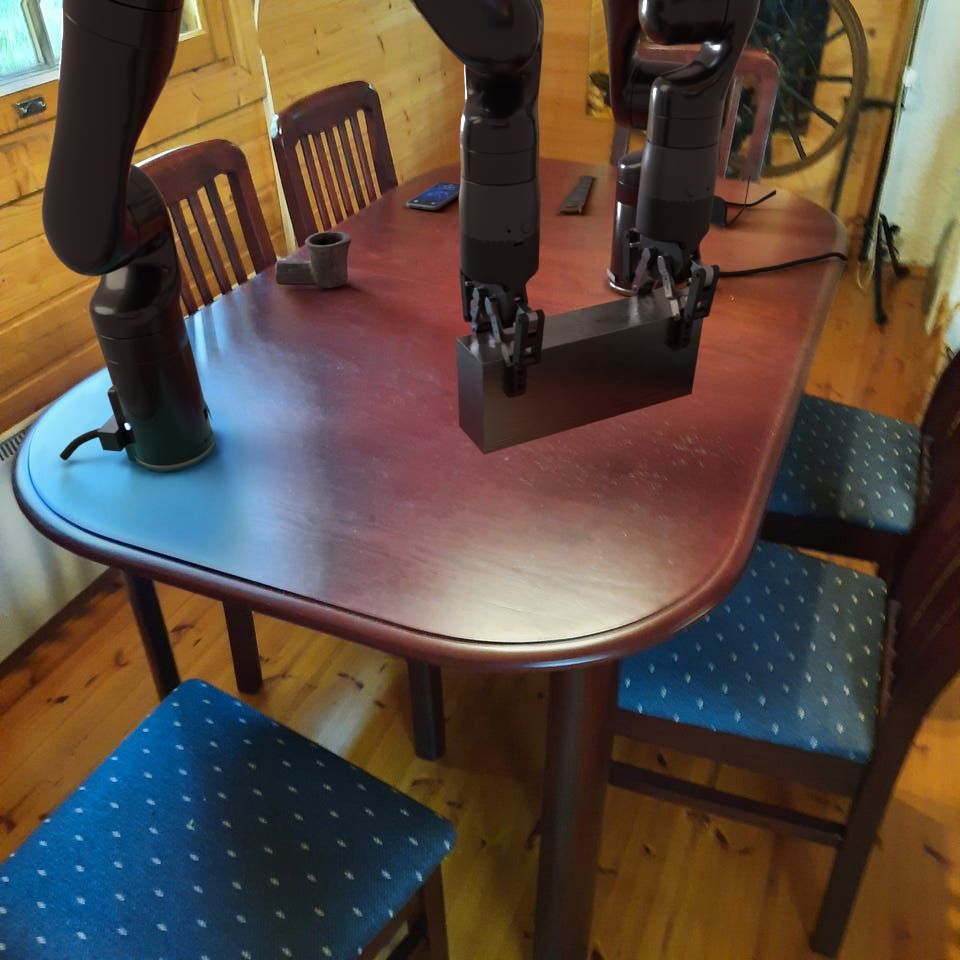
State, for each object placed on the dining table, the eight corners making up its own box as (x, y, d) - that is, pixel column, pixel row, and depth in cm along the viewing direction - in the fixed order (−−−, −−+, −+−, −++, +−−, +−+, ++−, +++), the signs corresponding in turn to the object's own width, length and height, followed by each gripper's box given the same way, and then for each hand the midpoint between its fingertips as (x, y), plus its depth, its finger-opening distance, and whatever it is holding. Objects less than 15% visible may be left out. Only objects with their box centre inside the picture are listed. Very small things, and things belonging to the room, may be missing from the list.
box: (660, 370, 104) (671, 287, 97) (692, 394, 99) (705, 307, 93) (459, 426, 94) (456, 337, 88) (483, 455, 90) (482, 363, 83)
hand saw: (572, 176, 184) (572, 173, 184) (593, 177, 184) (593, 174, 183) (557, 214, 165) (557, 210, 165) (581, 215, 165) (581, 211, 164)
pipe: (280, 280, 143) (272, 233, 138) (357, 276, 144) (351, 229, 139) (276, 295, 138) (268, 248, 133) (355, 291, 139) (350, 243, 134)
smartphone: (403, 203, 170) (439, 180, 181) (404, 207, 171) (440, 185, 181) (436, 207, 167) (471, 184, 178) (436, 212, 168) (471, 189, 179)
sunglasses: (787, 221, 160) (792, 194, 157) (718, 230, 157) (722, 203, 154) (740, 193, 173) (744, 168, 170) (675, 201, 170) (678, 176, 167)
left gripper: (431, 206, 83) (439, 358, 93) (498, 256, 73) (499, 422, 83) (500, 194, 86) (500, 343, 96) (574, 241, 76) (566, 403, 85)
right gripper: (754, 200, 82) (727, 355, 92) (665, 161, 93) (649, 304, 103) (690, 213, 80) (670, 371, 90) (606, 172, 90) (596, 317, 100)
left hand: (499, 379), depth 89 cm, fingers closed on box, 6 cm apart
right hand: (659, 335), depth 96 cm, fingers closed on box, 6 cm apart
